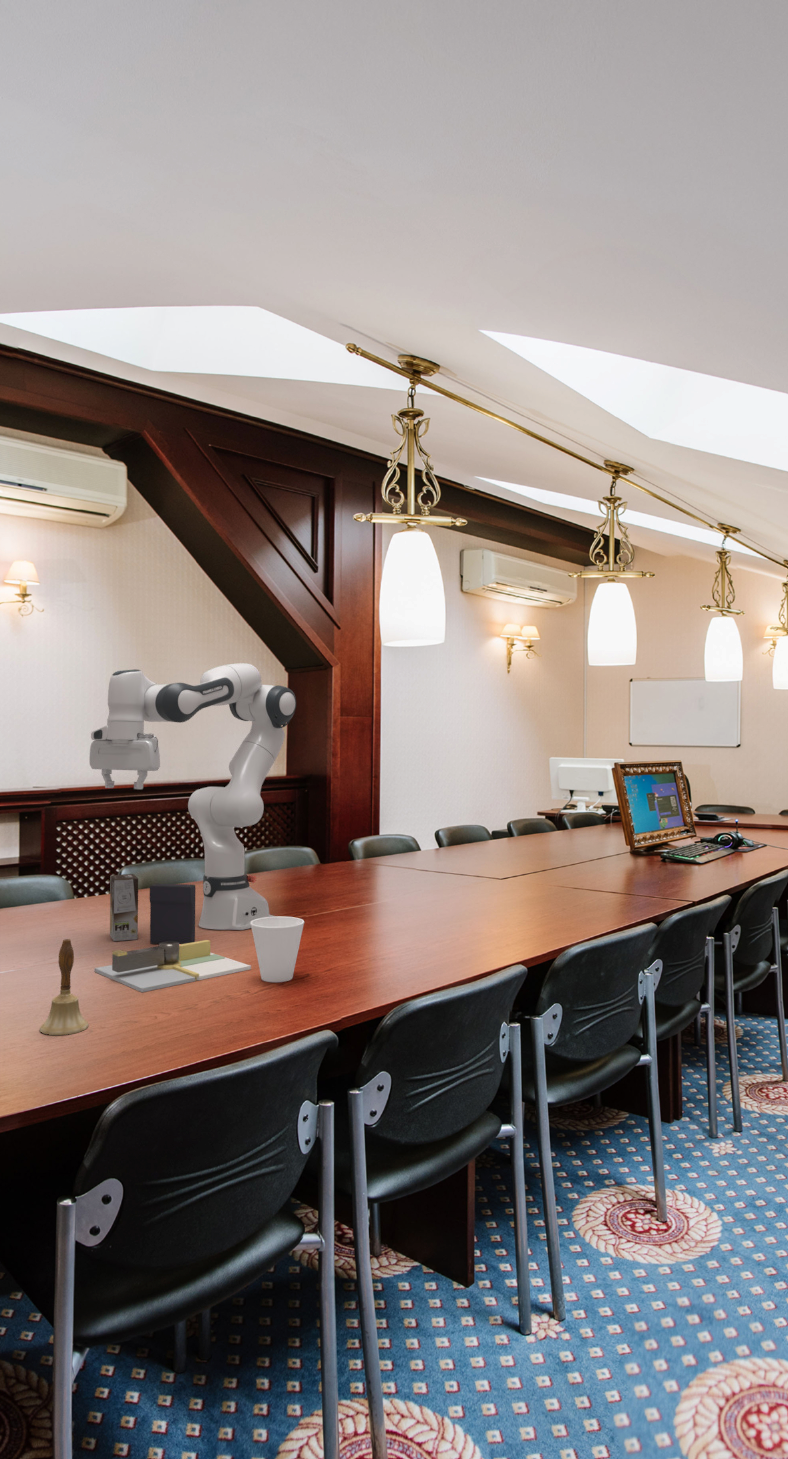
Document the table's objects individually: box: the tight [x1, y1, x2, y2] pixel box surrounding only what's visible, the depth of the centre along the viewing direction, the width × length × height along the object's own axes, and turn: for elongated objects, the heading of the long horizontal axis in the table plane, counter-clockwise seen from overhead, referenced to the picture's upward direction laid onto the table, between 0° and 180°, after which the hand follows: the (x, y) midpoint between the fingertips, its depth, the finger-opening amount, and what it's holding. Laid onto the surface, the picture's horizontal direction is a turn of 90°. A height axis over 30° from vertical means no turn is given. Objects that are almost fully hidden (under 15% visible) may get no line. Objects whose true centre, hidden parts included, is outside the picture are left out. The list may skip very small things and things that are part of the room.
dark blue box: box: [149, 883, 196, 945], centre depth 223 cm, size 11×4×15 cm, turn 84°
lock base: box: [94, 939, 252, 993], centre depth 196 cm, size 27×22×4 cm
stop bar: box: [111, 941, 179, 973], centre depth 193 cm, size 15×4×4 cm, turn 134°
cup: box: [250, 915, 305, 983], centre depth 191 cm, size 12×12×12 cm
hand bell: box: [39, 938, 90, 1036], centre depth 157 cm, size 8×8×16 cm
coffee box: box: [109, 873, 139, 942], centre depth 230 cm, size 9×6×16 cm
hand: (123, 788), depth 217 cm, fingers open, 8 cm apart
